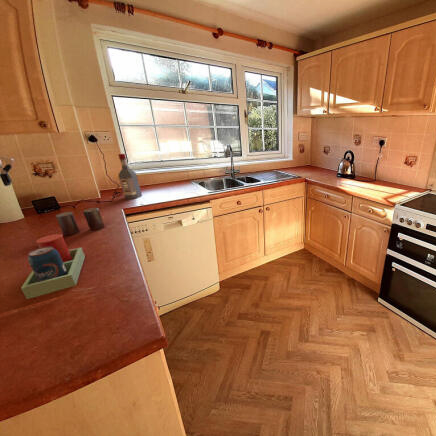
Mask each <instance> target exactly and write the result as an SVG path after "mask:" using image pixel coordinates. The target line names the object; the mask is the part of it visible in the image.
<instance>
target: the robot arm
mask: <svg viewBox="0 0 436 436" xmlns="http://www.w3.org/2000/svg"><path fill="white" fill-rule="evenodd" d="M14 160H15V159H14V158H12V157H9V156H4V155H0V180H1V181H2V184H3V185H4V187H8V186H11V185H12V183H13V182H12V179H11V177H10V174H9V172H10V170H11V169H12V168H13V166H14V162H15V161H14ZM2 161H3V162H5V166H2V165H3V164H2Z"/></svg>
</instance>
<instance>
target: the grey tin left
mask: <svg viewBox="0 0 436 436" xmlns="http://www.w3.org/2000/svg"><path fill="white" fill-rule="evenodd" d="M55 218H56V220H57V222H58V225H59V226H60V229H61V232H62V235H63V237H71V236H75V235H78V234H79V233H80V232H81V231H80V228H79V225H78V223H77V221H76V218H75V216H74V213H73V212H72V211H65V212H61V213H58V214H56V215H55Z"/></svg>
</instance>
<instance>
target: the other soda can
mask: <svg viewBox="0 0 436 436" xmlns="http://www.w3.org/2000/svg"><path fill="white" fill-rule="evenodd" d="M35 242H36V244H37V246H38V248H41V247H46V246H52V247H53V248H54V249H56V250H57V251H58V253H59V255H60V257H61V259H62V262H67V261H72V260H73V259H72V257H71V254H70V252H69V250H70V249H69V247H68V245H67V243H66V240H65V239H64V235H63V234H62V233H55V234H50V235H45V236H43V237H40V238H38V239H37V240H36V241H35Z"/></svg>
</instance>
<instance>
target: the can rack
mask: <svg viewBox="0 0 436 436" xmlns="http://www.w3.org/2000/svg"><path fill="white" fill-rule="evenodd" d="M68 250H69V252H70V254H71V257H72V259H73V260H72V261H67V262H63V264H64V266H65V268H66V270H67V273H68V275H64V276H60V277H56V278H53V279H49V280H45V281H41V282H39V281H38V280H37V278H36V276H35V274H34V272H33V270H31V272H30V273H29V275H28V277H27V278H26V280H25V281H24V283H22V286H21V287H20V289H21V292H23V294H24V296H25V298H26V300H29V299H33V298H37V297H40V296H44V295H48V294H50V293H53V292H58V291H61V290H65V289H68V288H72V287H76V286H77V283H78V280H79V277H80V274H81V270H82V267H83V264H84V261H85V258H86V255H85V253H84V249H83V247H76V248H72V249H68Z"/></svg>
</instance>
